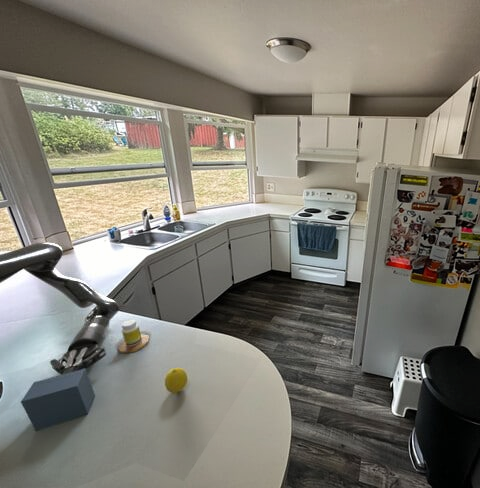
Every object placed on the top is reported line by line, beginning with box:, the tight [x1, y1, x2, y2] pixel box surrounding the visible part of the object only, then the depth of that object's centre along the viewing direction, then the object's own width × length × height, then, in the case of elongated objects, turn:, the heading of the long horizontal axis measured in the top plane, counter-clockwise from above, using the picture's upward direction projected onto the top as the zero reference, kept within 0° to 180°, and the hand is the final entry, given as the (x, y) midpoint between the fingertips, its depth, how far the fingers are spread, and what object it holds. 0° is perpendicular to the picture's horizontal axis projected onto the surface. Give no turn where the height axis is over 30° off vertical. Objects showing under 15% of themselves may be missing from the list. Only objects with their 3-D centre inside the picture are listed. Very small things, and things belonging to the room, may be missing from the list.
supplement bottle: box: [121, 318, 142, 346], centre depth 89 cm, size 5×5×8 cm
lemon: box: [164, 367, 188, 394], centre depth 72 cm, size 6×6×8 cm
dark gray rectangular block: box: [20, 368, 96, 432], centre depth 65 cm, size 10×6×10 cm, turn 117°
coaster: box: [117, 333, 150, 354], centre depth 90 cm, size 9×9×1 cm
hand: (67, 380), depth 68 cm, fingers closed
